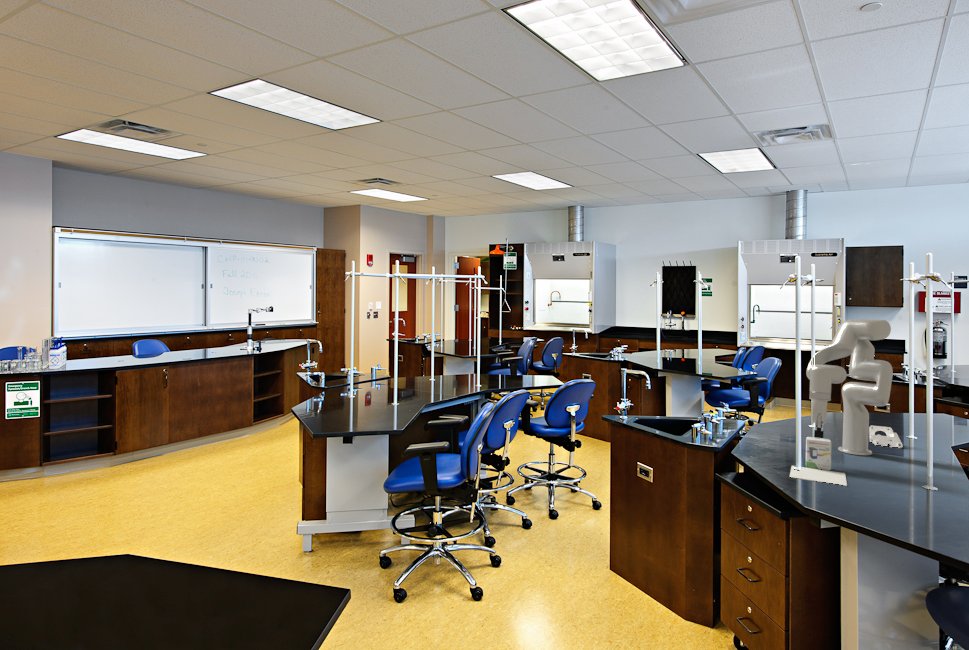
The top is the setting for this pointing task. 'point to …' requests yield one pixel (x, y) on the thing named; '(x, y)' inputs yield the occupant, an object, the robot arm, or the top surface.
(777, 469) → the top surface
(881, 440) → the mounting bracket
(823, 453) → the ink box
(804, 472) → the bench mat
